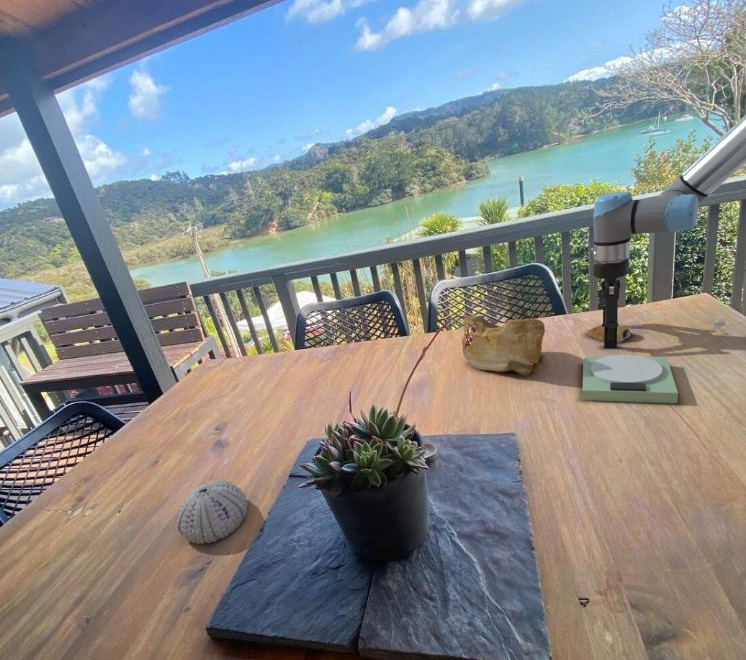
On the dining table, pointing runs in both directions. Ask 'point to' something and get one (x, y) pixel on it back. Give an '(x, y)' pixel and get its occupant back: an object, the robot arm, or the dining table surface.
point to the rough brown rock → (504, 344)
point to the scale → (628, 379)
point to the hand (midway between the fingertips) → (609, 338)
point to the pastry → (599, 333)
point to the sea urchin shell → (211, 512)
